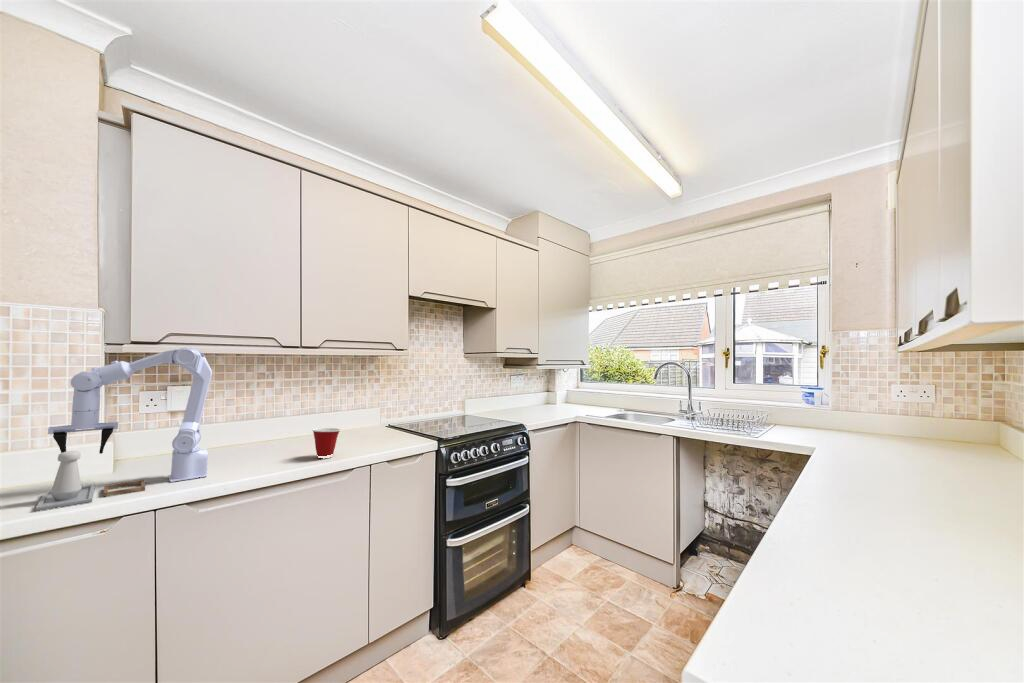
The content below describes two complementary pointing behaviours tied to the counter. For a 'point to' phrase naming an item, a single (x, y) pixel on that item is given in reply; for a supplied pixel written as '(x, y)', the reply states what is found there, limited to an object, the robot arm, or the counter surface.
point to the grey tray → (50, 503)
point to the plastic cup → (325, 440)
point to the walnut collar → (124, 489)
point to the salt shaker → (67, 477)
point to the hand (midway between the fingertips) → (82, 454)
